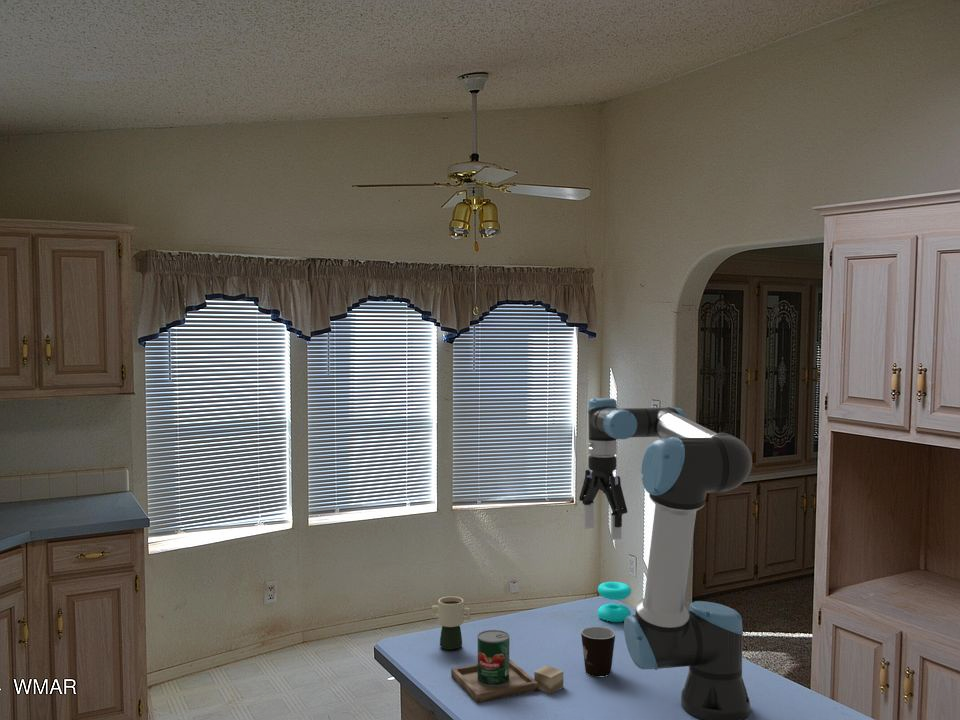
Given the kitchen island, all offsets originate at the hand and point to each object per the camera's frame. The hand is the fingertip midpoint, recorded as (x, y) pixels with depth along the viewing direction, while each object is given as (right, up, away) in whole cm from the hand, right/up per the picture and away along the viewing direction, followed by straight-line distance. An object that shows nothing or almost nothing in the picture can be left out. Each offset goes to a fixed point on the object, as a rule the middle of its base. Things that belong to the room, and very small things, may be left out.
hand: (602, 533), depth 217 cm
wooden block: (-17, -32, -23) cm, 43 cm away
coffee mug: (-3, -32, -13) cm, 35 cm away
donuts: (+8, -31, +26) cm, 41 cm away
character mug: (-41, -32, +2) cm, 52 cm away
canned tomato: (-30, -32, -21) cm, 48 cm away
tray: (-30, -32, -21) cm, 49 cm away
